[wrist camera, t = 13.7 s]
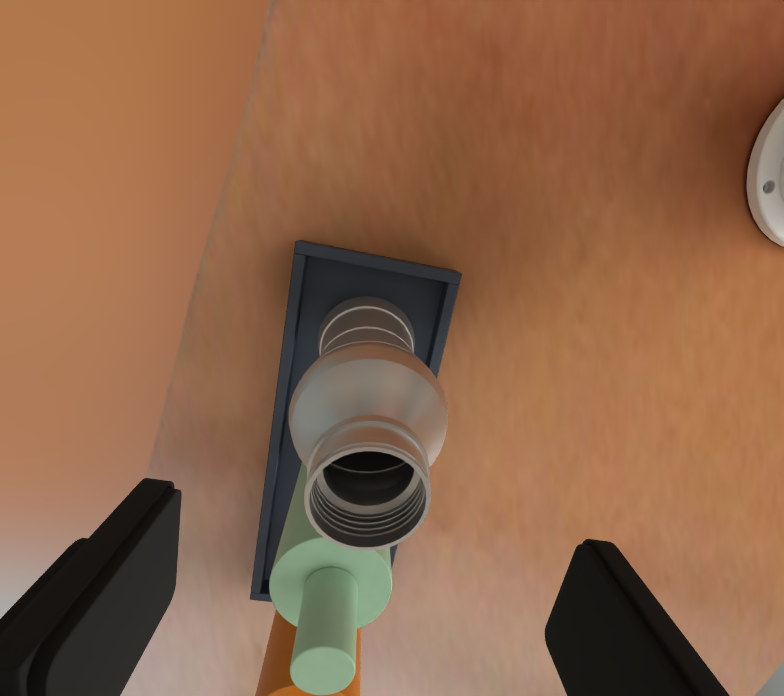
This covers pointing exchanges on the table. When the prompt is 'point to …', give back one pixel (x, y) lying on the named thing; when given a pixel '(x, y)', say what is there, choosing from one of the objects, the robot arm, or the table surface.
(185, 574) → the table surface
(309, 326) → the tray
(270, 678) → the amber bottle
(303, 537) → the sage bottle
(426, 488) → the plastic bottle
